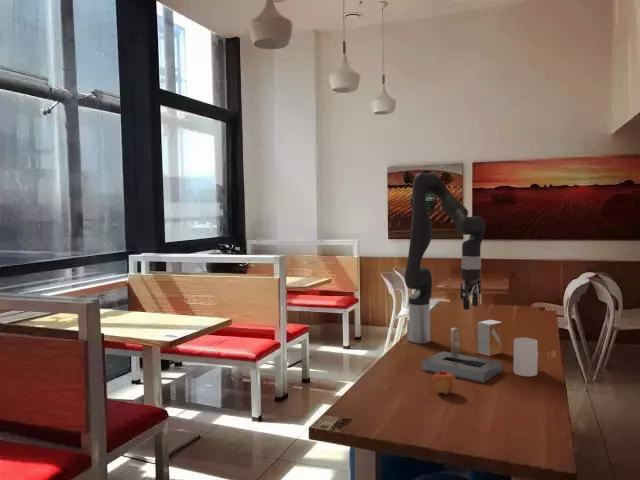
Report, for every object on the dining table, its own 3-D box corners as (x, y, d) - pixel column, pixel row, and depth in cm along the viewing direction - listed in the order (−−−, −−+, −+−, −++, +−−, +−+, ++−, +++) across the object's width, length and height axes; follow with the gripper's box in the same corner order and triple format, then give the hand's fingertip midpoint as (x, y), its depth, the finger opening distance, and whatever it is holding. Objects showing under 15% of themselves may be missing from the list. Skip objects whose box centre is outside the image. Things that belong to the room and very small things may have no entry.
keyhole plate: (422, 369, 199) (421, 360, 199) (442, 359, 211) (442, 351, 211) (483, 382, 184) (483, 372, 183) (501, 371, 196) (501, 361, 196)
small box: (489, 356, 215) (489, 324, 214) (477, 353, 220) (477, 321, 219) (502, 353, 219) (502, 321, 218) (490, 349, 224) (490, 319, 223)
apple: (451, 398, 170) (451, 374, 169) (429, 394, 174) (429, 370, 173) (458, 391, 176) (458, 367, 175) (437, 387, 180) (437, 364, 179)
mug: (538, 367, 199) (538, 336, 198) (537, 377, 188) (538, 344, 187) (514, 365, 202) (514, 334, 201) (513, 375, 191) (513, 342, 190)
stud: (446, 358, 213) (446, 329, 212) (452, 355, 217) (452, 326, 216) (458, 360, 210) (458, 330, 209) (463, 357, 214) (463, 328, 213)
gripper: (469, 264, 219) (469, 303, 220) (454, 268, 208) (454, 309, 209) (487, 265, 214) (486, 305, 215) (472, 269, 203) (472, 311, 204)
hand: (470, 307), depth 212 cm, fingers open, 8 cm apart
